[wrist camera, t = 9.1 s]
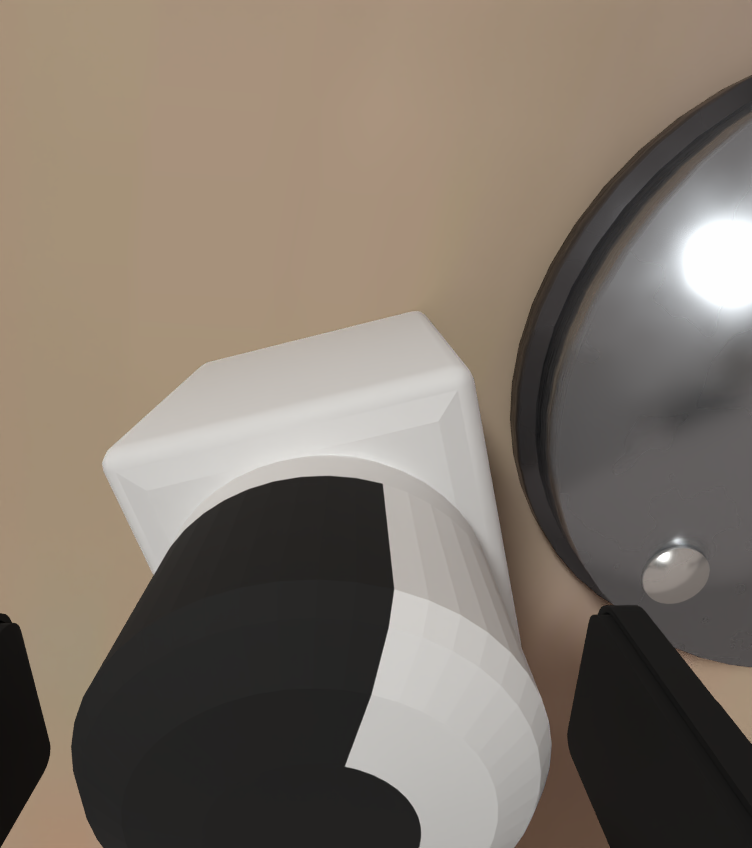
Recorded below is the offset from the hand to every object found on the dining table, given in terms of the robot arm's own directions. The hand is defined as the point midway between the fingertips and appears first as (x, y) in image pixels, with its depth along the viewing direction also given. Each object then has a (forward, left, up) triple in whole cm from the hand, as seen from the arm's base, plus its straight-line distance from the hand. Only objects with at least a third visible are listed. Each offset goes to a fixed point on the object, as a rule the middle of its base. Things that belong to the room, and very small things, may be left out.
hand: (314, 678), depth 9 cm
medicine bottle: (-1, 0, -9) cm, 9 cm away
